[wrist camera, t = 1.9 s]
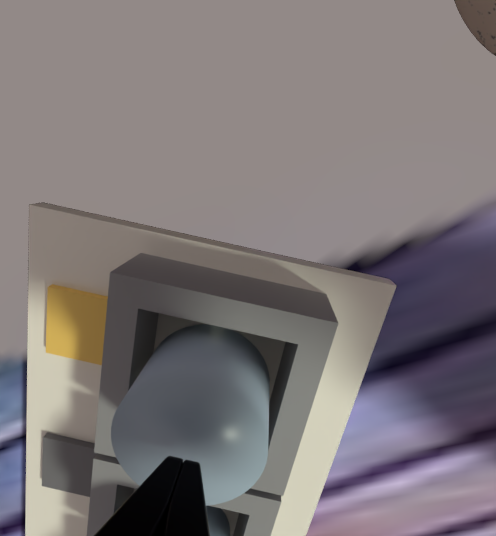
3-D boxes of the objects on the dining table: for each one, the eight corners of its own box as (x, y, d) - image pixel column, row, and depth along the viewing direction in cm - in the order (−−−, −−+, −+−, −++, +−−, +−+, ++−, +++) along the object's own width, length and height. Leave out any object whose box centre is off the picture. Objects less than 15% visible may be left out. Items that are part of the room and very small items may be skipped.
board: (389, 278, 13) (426, 314, 10) (258, 647, 20) (256, 736, 17) (43, 202, 13) (-29, 213, 10) (33, 594, 20) (-11, 672, 17)
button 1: (282, 340, 11) (285, 397, 9) (255, 441, 13) (250, 520, 10) (157, 311, 11) (117, 360, 9) (143, 415, 13) (105, 486, 10)
